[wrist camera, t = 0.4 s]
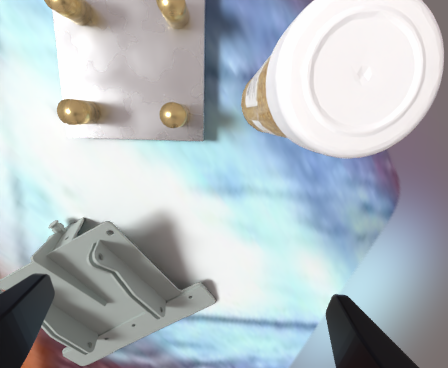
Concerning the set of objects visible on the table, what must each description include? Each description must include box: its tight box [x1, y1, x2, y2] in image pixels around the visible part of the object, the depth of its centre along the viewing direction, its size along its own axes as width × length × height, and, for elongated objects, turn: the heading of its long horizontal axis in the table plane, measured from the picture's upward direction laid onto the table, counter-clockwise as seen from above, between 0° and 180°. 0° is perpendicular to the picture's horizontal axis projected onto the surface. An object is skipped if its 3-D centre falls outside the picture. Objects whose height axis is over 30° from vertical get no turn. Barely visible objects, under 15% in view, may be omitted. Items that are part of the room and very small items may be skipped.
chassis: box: [44, 0, 206, 141], centre depth 17 cm, size 10×10×4 cm
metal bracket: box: [0, 217, 216, 366], centre depth 23 cm, size 14×6×15 cm
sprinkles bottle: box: [241, 0, 444, 158], centre depth 13 cm, size 5×5×14 cm
